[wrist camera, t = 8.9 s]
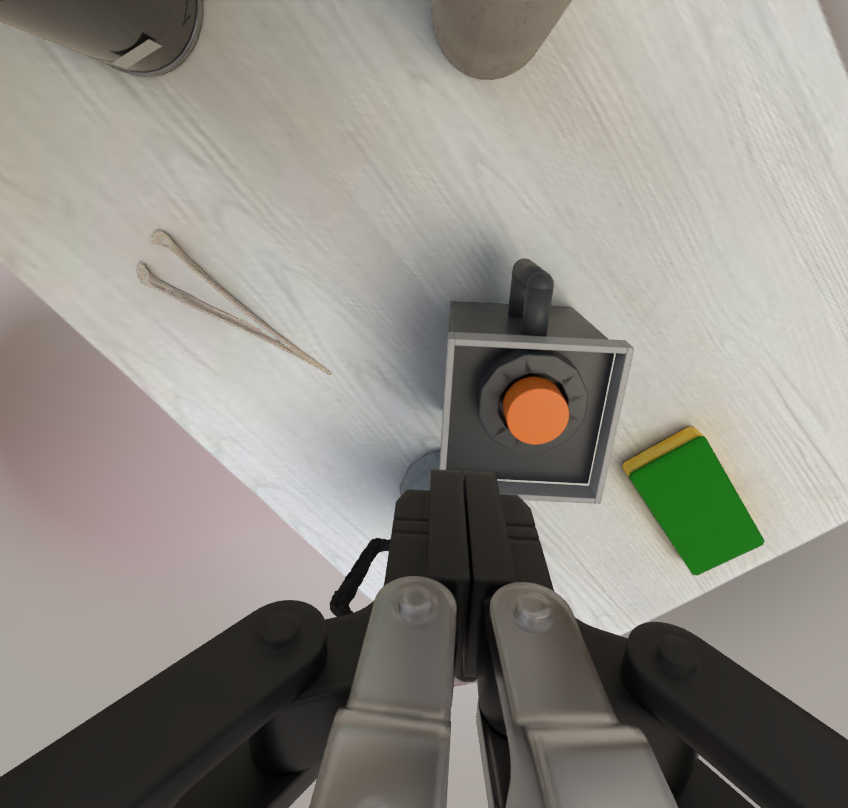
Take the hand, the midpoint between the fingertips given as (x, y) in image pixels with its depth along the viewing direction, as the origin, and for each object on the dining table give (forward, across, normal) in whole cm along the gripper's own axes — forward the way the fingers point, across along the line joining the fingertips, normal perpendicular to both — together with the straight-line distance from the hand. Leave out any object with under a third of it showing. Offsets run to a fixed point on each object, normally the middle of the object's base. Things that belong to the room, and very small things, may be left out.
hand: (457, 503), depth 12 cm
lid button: (+18, -5, +5) cm, 20 cm away
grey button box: (+31, -6, +6) cm, 32 cm away
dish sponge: (+31, -24, +19) cm, 44 cm away
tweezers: (+32, +17, +4) cm, 36 cm away
